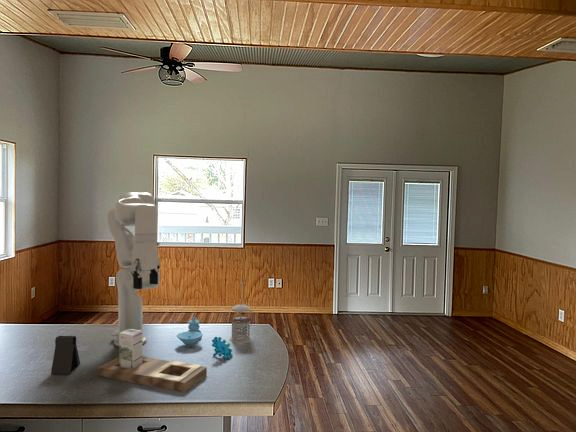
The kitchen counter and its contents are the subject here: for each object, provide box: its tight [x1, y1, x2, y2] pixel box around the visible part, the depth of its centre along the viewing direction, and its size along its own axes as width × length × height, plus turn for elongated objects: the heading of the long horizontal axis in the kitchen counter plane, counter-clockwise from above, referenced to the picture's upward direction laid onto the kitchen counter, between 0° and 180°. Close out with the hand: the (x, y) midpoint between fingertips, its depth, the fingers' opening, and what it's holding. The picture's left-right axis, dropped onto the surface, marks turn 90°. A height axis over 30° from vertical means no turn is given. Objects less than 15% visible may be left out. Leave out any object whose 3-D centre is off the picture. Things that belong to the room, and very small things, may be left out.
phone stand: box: [50, 335, 81, 376], centre depth 158 cm, size 9×6×12 cm, turn 179°
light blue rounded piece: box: [176, 316, 204, 348], centre depth 190 cm, size 18×10×9 cm, turn 1°
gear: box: [211, 336, 233, 360], centre depth 174 cm, size 11×6×10 cm
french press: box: [228, 282, 255, 344], centre depth 195 cm, size 10×12×25 cm
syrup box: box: [118, 329, 143, 369], centre depth 158 cm, size 6×6×14 cm
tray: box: [97, 356, 208, 393], centre depth 155 cm, size 34×14×3 cm, turn 71°
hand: (145, 286), depth 162 cm, fingers open, 9 cm apart
